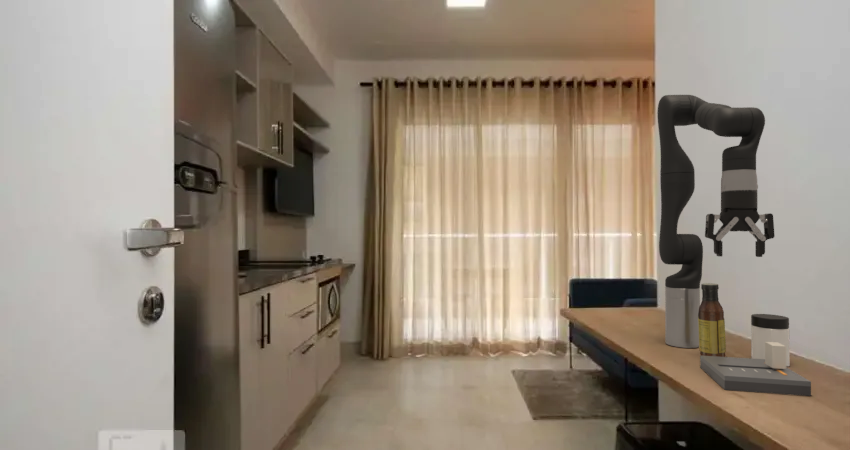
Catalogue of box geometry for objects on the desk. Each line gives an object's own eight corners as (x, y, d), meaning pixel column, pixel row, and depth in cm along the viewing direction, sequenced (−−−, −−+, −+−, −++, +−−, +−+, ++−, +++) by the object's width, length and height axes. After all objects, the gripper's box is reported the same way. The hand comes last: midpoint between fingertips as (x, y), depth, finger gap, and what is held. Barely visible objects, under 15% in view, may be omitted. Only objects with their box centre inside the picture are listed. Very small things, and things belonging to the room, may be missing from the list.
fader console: (700, 367, 124) (700, 354, 124) (773, 372, 120) (773, 359, 120) (724, 389, 107) (724, 375, 107) (811, 396, 103) (811, 381, 103)
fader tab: (765, 369, 114) (765, 341, 114) (778, 370, 114) (777, 342, 114) (772, 374, 110) (772, 345, 111) (786, 374, 110) (785, 346, 110)
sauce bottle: (719, 354, 137) (718, 282, 137) (730, 360, 131) (730, 285, 131) (694, 354, 138) (693, 282, 138) (704, 359, 131) (704, 284, 132)
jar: (797, 364, 127) (797, 317, 127) (781, 368, 123) (780, 320, 123) (759, 356, 135) (759, 312, 135) (743, 360, 131) (743, 315, 131)
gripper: (765, 190, 122) (765, 256, 122) (701, 191, 126) (701, 255, 126) (779, 188, 115) (779, 258, 115) (711, 189, 119) (711, 256, 119)
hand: (738, 256), depth 120 cm, fingers open, 8 cm apart
